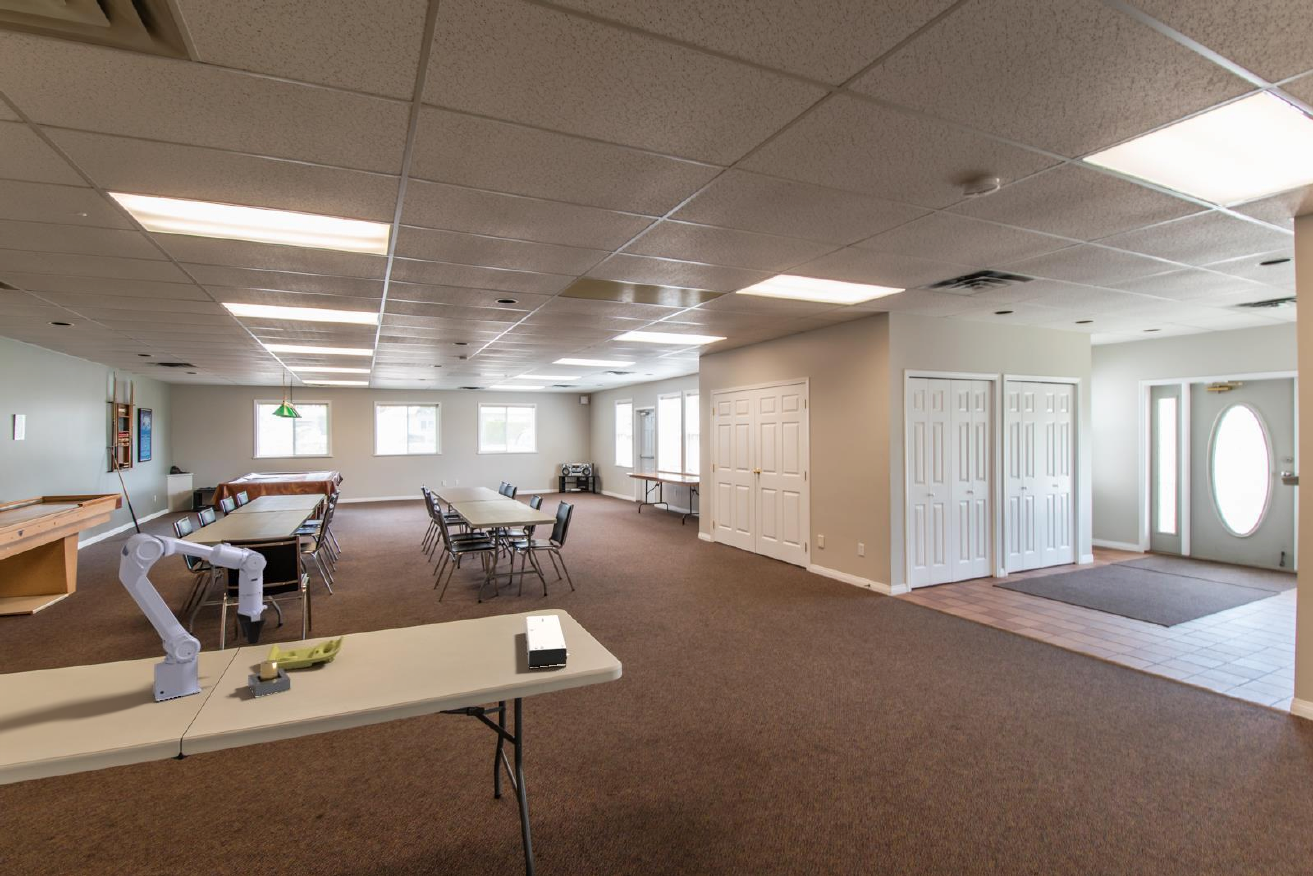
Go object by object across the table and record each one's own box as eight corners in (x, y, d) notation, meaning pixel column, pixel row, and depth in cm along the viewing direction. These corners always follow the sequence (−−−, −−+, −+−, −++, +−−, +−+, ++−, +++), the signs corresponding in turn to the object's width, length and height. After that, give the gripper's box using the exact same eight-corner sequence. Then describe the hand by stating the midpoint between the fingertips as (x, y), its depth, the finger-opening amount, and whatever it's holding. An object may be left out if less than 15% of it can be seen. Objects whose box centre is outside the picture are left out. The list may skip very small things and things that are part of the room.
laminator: (525, 633, 218) (525, 616, 218) (560, 631, 221) (560, 614, 221) (528, 671, 185) (529, 650, 185) (569, 668, 188) (570, 648, 188)
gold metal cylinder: (260, 692, 166) (260, 666, 166) (259, 687, 169) (260, 661, 169) (278, 689, 168) (278, 663, 168) (276, 683, 172) (277, 658, 172)
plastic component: (264, 665, 179) (274, 639, 187) (270, 683, 182) (280, 657, 191) (338, 655, 183) (345, 631, 192) (343, 673, 187) (349, 648, 195)
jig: (255, 698, 163) (255, 687, 162) (248, 686, 170) (248, 675, 170) (290, 689, 168) (290, 678, 168) (281, 678, 175) (281, 667, 175)
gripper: (272, 596, 175) (272, 643, 175) (261, 585, 185) (261, 630, 186) (243, 600, 170) (242, 649, 170) (233, 589, 181) (233, 635, 181)
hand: (250, 640), depth 178 cm, fingers open, 7 cm apart
